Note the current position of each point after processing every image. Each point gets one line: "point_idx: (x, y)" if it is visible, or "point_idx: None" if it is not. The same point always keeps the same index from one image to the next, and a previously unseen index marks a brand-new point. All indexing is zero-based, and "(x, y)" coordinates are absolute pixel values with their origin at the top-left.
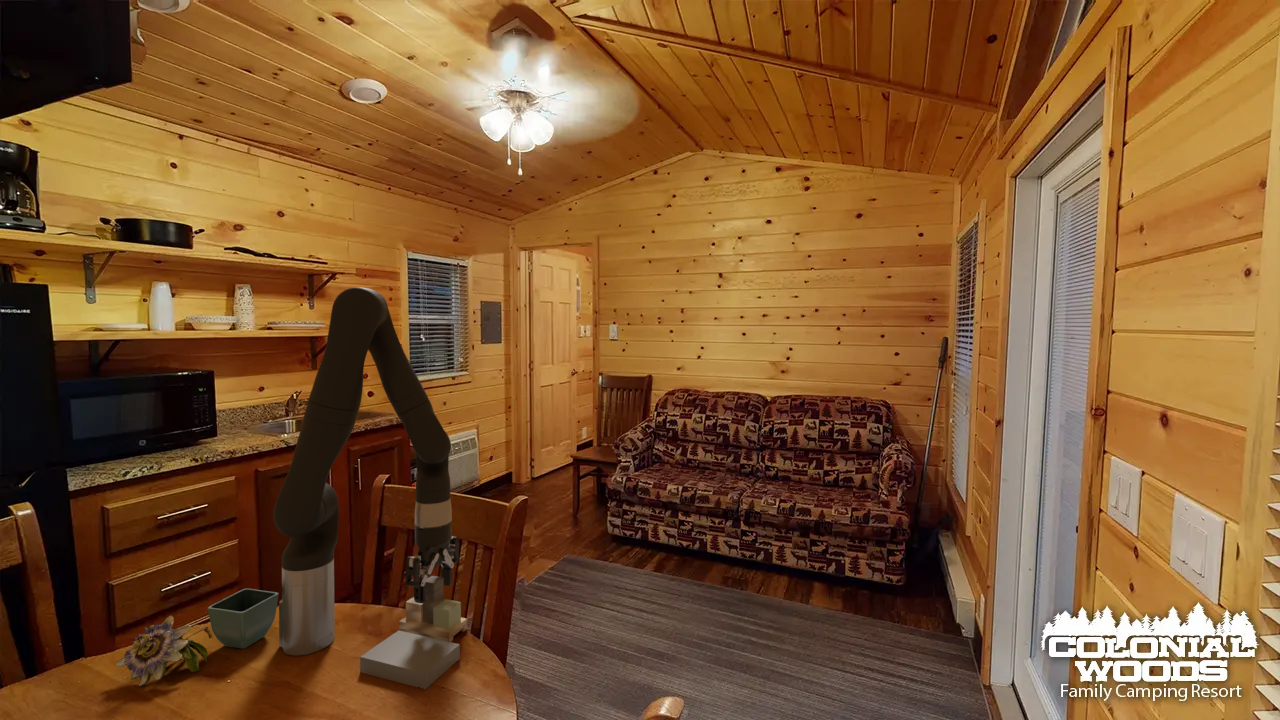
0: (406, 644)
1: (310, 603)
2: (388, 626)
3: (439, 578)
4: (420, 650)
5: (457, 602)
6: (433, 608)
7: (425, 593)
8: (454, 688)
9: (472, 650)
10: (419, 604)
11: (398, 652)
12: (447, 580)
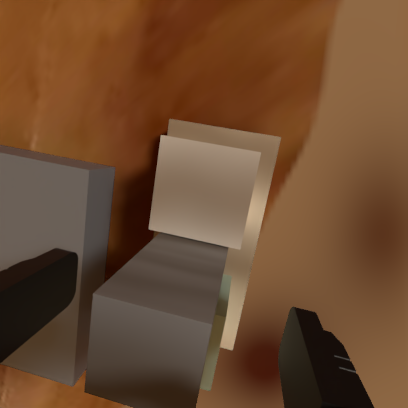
0: (28, 242)
1: None
2: (205, 61)
3: (171, 401)
4: None
5: (205, 378)
6: None
7: (36, 332)
8: (9, 375)
9: None
10: (151, 219)
11: None
12: (286, 368)
